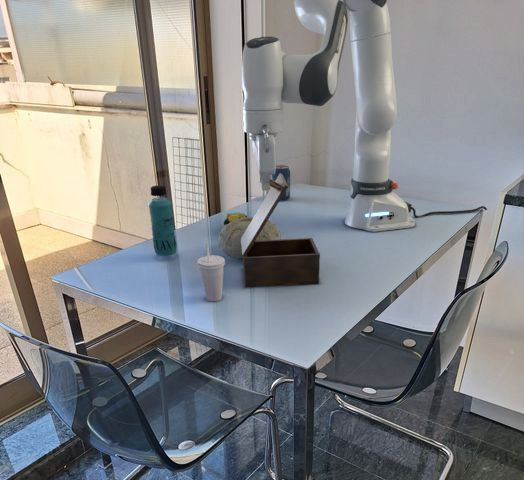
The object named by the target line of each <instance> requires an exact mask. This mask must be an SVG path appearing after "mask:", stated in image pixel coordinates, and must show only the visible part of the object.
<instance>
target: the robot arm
mask: <svg viewBox="0 0 524 480" xmlns="http://www.w3.org/2000/svg"><path fill="white" fill-rule="evenodd" d="M293 5H294V11H295V15H296V17H297V19H298V21H299V22H300V23H301V24H302V26H303V27H304V28H305V29H306V30H308V31H310V32H312V33H315V34H319V35H322V40H321V45H320V48H319V50H318V51H316V52H313V53H309V54H286V52H284V51H283V50H282V46H281V41H280V39H279V38H278V37H275V36H260V37H254V38H251V39H249V40H248V41H246V43H244V45H243V50H242V51H243V52H242V60H241V61H242V62H241V87H242V91H243V96H244V97H243V98H244V100H243V104H242V117H243V118H242V119H243V132H244V133H246V134H249V140H250V141H251V145H252V151H253V159H254V161H255V164H256V167H257V171H258V174H259V177H258V178H259V183H260V184H261V190H262V191H265V192H266V191H270V189H271V186H270V179H271V177H272V175H273V174H275V171H276V166H277V164H276V163H277V161H276V158H277V157H276V140H278V138H279V137H278V134H279V133H281V132H283V131H284V104H283V103H286V104H300V105H308V106H314V107H316V106H317V107H322V106H324V105H325V104H327V103H328V102H329V101H330V100H331V99H332V98H333V97H334V96H335V94H336V92H337V87H338V81H339V80H338V79H339V69H340V65H341V59H342V54H343V51H344V46H345V42H346V35H347V31H348V22H349V39H350V50H351V62H352V72H353V73H352V74H353V81H354V90H355V100H356V110H355V127H354V155H353V170H352V178H351V180H350V188H349V190H350V191H349V197H350V201H349V206H348V211H347V214H346V217H345V220H344V223H345V225H347V226H348V227H351V228H354V229H358V230H365V231H368V232H372V233H376V232H384V231H385V232H386V231H393V230H400V229H402V230H403V229H411V228H414V227H415V225H416V221H415V219H414V218H416V219H417V218H418V219H419V218H424V217H427V216H430V215H440V214H441V215H443V214H445V215H447V214H464V213H474V212H477V211H479V210H481V209H483V210H484V211H488V208H487V207H486V206H484V205H480V206H479V207H477V208H473V209H465V210H446V211H445V210H443V211H440V210H439V211H437V210H436V211H429V212H427V213H424V214H422V215H417V213H416V209H415V207H413V204H411V203H409V202H407V201H405V200H404V199H402V198H401V197H400V196H399V195H398V194H397V193H395V192H394V191H396V190H397V189H398V188H399V184H398V183H397V181H393V180H392V179H390V178H389V174H390V166H391V165H390V164H391V156H392V155H391V154H392V128H393V127H394V125H395V123H396V122H397V119H398V105H397V104H398V103H397V101H398V100H397V92H396V90H397V89H396V82H395V81H396V80H395V72H394V63H393V45H392V43H393V42H392V29H391V17H390V12H389V6H388V0H293ZM348 13H349V15H348ZM393 190H394V191H393ZM411 212H412V214H413V217H414V218H413V217H412V216H410V214H411ZM409 213H410V214H409Z"/></svg>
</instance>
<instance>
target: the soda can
mask: <svg viewBox="0 0 524 480" xmlns="http://www.w3.org/2000/svg"><path fill="white" fill-rule="evenodd" d="M280 173H281V174H283V176H284V179H285V181H286V183H287V185H288V188H287V189H286V191H285V193H284V194H283V196H282V198H281V199H280V201H279V202H286V201H288V200H289V199H290V197H291V170H290V168H289V165H283V164H280V165H276V171H275V174H273V175H271V179H272V180H273V181H275V180H276V179H277V177H278V175H279V174H280Z"/></svg>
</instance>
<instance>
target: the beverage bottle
mask: <svg viewBox="0 0 524 480" xmlns="http://www.w3.org/2000/svg"><path fill="white" fill-rule="evenodd" d="M150 195H151V196H152V197H153V198H152V199H151V200H150V201H149V202H148V204H147V205H148V210H149V217H150V225H151V228H150V230H151V236H152V242H153V250H154V253H155V255H157V256H159V257H168V256H172V255H175V254H176V253H177V248H178V247H177V239H176V234H175V232H176V231H175V222H174V216H173V208H172V207H173V206H172V201H171V200H170V199H169V198H167V197H165V196H166V195H167V190H166V186H165V185H162V184H161V185H157V184H156V185H152V186H150ZM163 196H164V197H163Z"/></svg>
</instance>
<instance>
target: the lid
mask: <svg viewBox="0 0 524 480" xmlns="http://www.w3.org/2000/svg"><path fill="white" fill-rule="evenodd" d="M287 188H288V185H287V183H286V181H285V179H284V176H283V174H281V173H280V174H279V175H278V177H277V179H276V180H275V181H273V180H272V178H270V189H269V190H268V191H267V194H266V196H265V198H264V199H263V201H262V202H261V204H260V205H259V208H258V209H257V211H256V212H255V214H254V215H253V217H252V218H253V219H252V221H251V223H250V224H249V226H248V228H247V229H246V231H245V233H244V234H243V236H242V238H241V246H242V256H244V257H246V255H247V253H248V252H249V250H250V249H251V247H252V245H253V244H254V242H255V240H256V239H257V237H258V235H259V234H260V232H261V230H262V229H263V227H264V226H265V224H266V222H267V221H268V220H269V219H270V217H271V216H272V214H273V213H274V210H276V208H277V205H278V204H279V203H280V202H281V201H280V199H281V198H282V196H283V194H284V193H285V191H286V189H287Z"/></svg>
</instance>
